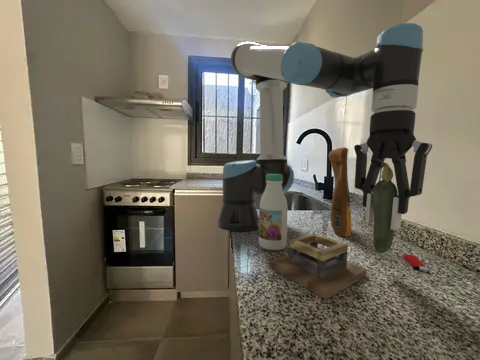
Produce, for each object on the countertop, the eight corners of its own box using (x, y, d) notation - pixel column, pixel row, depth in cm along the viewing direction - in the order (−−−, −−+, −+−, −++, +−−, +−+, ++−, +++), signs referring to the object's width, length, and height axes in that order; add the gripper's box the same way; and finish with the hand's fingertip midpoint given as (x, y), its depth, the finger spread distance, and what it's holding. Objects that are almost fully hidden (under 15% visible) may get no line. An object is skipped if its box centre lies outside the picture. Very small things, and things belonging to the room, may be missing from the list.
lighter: (416, 255, 56) (431, 270, 48) (416, 260, 56) (430, 275, 48) (403, 253, 57) (415, 268, 49) (402, 258, 57) (414, 273, 49)
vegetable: (395, 261, 46) (404, 162, 44) (372, 258, 47) (380, 162, 44) (385, 252, 50) (394, 162, 48) (364, 250, 51) (371, 161, 49)
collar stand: (270, 266, 50) (271, 238, 50) (310, 252, 58) (311, 228, 58) (325, 299, 39) (327, 263, 38) (366, 276, 47) (368, 245, 46)
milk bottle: (269, 238, 68) (271, 172, 66) (291, 246, 63) (294, 174, 61) (252, 245, 63) (254, 173, 61) (275, 253, 57) (277, 175, 55)
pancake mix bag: (331, 238, 69) (336, 146, 67) (324, 221, 88) (328, 149, 85) (355, 240, 67) (361, 146, 65) (343, 223, 86) (347, 149, 83)
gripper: (341, 115, 50) (334, 218, 52) (443, 101, 36) (427, 242, 38) (358, 119, 54) (351, 213, 57) (456, 107, 40) (440, 234, 43)
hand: (382, 225), depth 48 cm, fingers closed on vegetable, 4 cm apart
